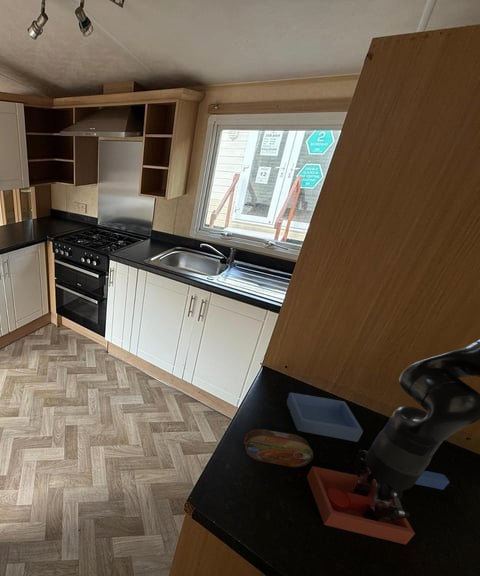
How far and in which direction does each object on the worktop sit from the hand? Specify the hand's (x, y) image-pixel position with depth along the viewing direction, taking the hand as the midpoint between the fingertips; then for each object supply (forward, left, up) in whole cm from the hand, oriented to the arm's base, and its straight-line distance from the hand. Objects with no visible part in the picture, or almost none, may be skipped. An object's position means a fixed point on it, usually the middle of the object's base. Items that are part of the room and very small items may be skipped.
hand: (363, 507), depth 68 cm
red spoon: (+2, 0, 0) cm, 2 cm away
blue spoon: (-15, -11, -1) cm, 19 cm away
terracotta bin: (+2, 0, -1) cm, 2 cm away
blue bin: (0, -25, -1) cm, 25 cm away
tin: (+16, -9, -1) cm, 18 cm away
